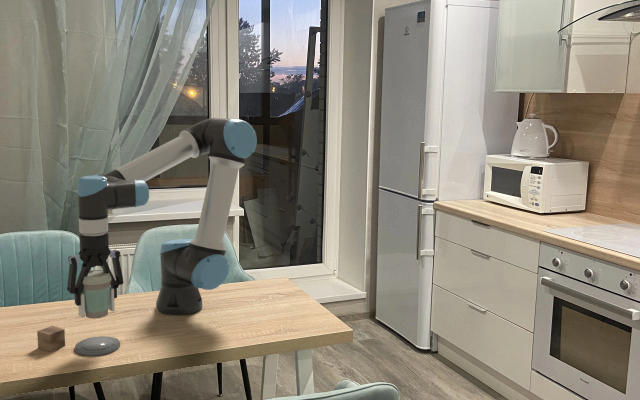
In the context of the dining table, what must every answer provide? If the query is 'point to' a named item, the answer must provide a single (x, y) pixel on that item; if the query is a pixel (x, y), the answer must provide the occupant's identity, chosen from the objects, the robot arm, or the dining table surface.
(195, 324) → the dining table surface
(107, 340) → the saucer
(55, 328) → the walnut block
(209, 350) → the dining table surface
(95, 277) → the coffee cup
